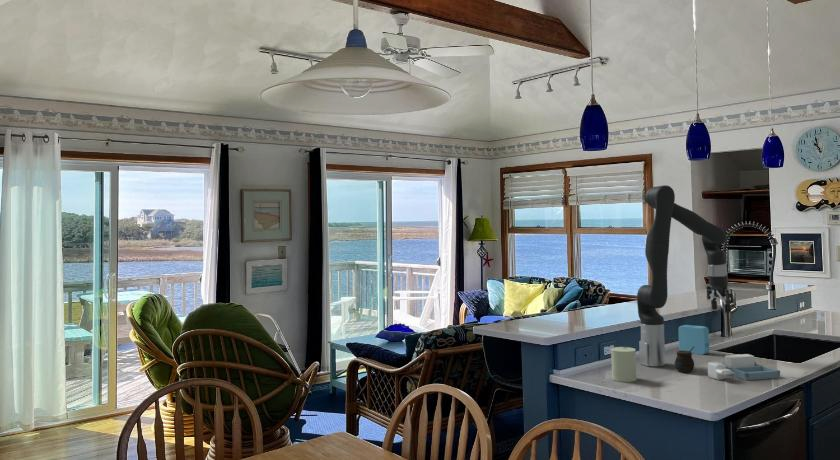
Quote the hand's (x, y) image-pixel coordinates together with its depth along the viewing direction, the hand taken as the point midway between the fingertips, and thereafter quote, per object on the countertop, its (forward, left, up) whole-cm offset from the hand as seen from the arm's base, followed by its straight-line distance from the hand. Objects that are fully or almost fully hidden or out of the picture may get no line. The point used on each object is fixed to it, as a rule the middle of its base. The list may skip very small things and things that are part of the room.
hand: (721, 311), depth 275 cm
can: (-58, -23, -20) cm, 65 cm away
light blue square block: (-6, +12, -20) cm, 24 cm away
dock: (-10, -29, -20) cm, 37 cm away
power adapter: (-25, -35, -20) cm, 48 cm away
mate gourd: (-30, -19, -20) cm, 41 cm away
